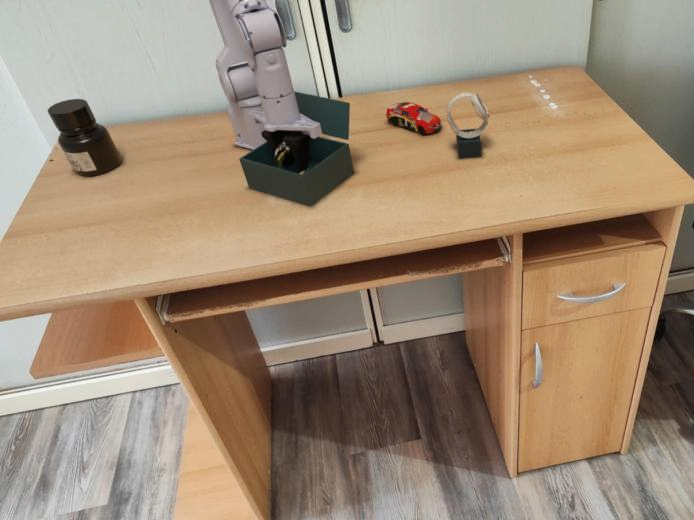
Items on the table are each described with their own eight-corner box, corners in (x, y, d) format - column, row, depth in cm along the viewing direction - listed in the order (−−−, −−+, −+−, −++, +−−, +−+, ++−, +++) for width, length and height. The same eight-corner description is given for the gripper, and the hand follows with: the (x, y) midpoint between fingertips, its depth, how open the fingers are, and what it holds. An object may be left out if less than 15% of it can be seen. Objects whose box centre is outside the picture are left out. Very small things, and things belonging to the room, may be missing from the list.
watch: (491, 156, 111) (491, 98, 103) (449, 159, 111) (446, 102, 103) (488, 142, 115) (487, 86, 107) (447, 145, 115) (444, 89, 107)
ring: (311, 169, 109) (301, 129, 103) (319, 176, 108) (309, 136, 102) (277, 182, 107) (265, 142, 101) (285, 190, 105) (273, 149, 99)
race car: (446, 129, 120) (445, 110, 117) (429, 138, 117) (427, 119, 115) (401, 113, 126) (399, 94, 124) (383, 122, 124) (381, 103, 121)
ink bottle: (67, 167, 116) (33, 107, 107) (110, 150, 120) (80, 92, 112) (87, 182, 111) (52, 121, 103) (131, 164, 115) (101, 104, 107)
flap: (285, 125, 110) (287, 125, 110) (347, 140, 104) (348, 139, 104) (285, 89, 107) (286, 89, 107) (348, 102, 101) (350, 102, 101)
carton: (294, 157, 114) (286, 128, 110) (354, 173, 109) (348, 143, 105) (249, 188, 107) (238, 158, 103) (311, 206, 101) (302, 176, 97)
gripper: (227, 93, 96) (251, 168, 106) (293, 108, 91) (313, 186, 100) (256, 78, 100) (277, 151, 110) (322, 91, 95) (338, 167, 104)
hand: (296, 167), depth 105 cm, fingers closed on ring, 3 cm apart
